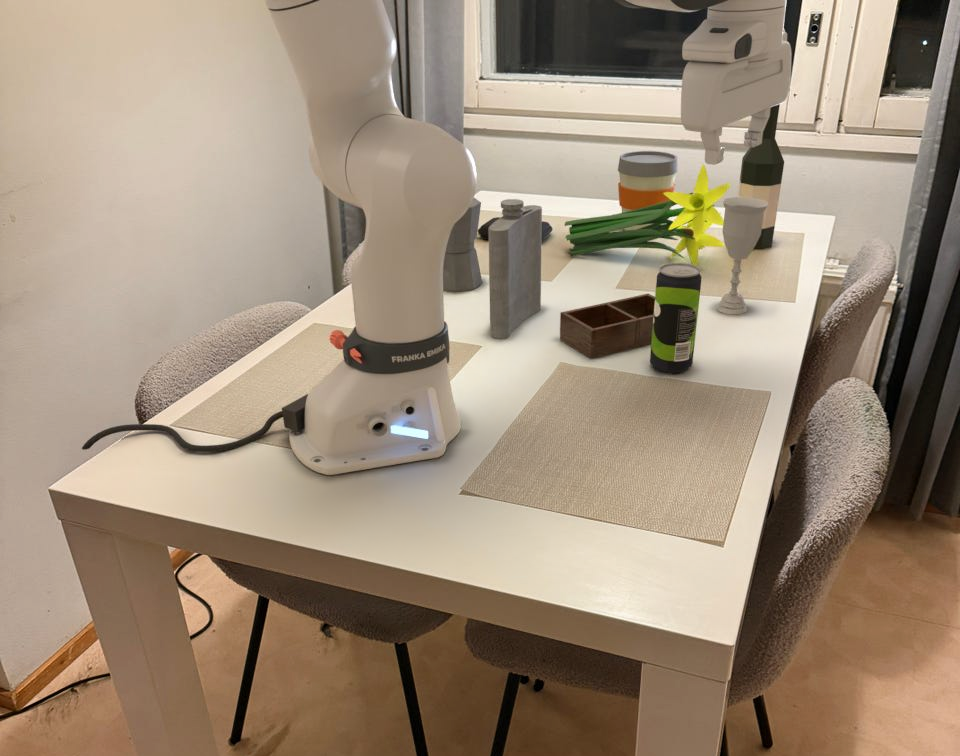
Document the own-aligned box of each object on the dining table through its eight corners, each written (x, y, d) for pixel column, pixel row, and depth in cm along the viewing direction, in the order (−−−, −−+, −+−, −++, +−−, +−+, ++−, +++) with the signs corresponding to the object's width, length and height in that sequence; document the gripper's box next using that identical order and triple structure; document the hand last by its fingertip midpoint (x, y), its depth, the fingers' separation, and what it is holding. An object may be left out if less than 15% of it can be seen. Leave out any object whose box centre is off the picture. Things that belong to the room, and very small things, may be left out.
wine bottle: (777, 241, 187) (801, 85, 171) (765, 251, 181) (788, 90, 165) (738, 235, 191) (758, 82, 175) (725, 245, 185) (744, 88, 169)
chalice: (760, 308, 154) (776, 201, 145) (740, 319, 150) (755, 210, 140) (722, 298, 158) (735, 194, 149) (702, 309, 154) (714, 203, 145)
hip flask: (504, 340, 144) (503, 214, 134) (482, 336, 146) (479, 212, 135) (543, 307, 156) (545, 190, 146) (522, 304, 158) (522, 188, 148)
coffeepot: (480, 296, 162) (478, 194, 153) (428, 296, 163) (423, 194, 153) (485, 269, 175) (483, 173, 166) (437, 268, 176) (433, 174, 167)
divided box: (590, 359, 137) (591, 330, 135) (559, 339, 144) (560, 312, 142) (679, 337, 144) (682, 309, 141) (646, 319, 151) (648, 293, 148)
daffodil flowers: (593, 241, 192) (757, 214, 173) (577, 294, 186) (746, 273, 167) (561, 182, 180) (734, 147, 161) (543, 237, 174) (720, 207, 155)
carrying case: (556, 233, 195) (494, 227, 200) (556, 219, 194) (493, 213, 199) (539, 246, 187) (475, 240, 192) (540, 232, 185) (474, 225, 190)
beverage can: (695, 361, 136) (705, 264, 128) (687, 378, 131) (698, 278, 123) (654, 356, 137) (662, 260, 130) (645, 372, 133) (653, 273, 125)
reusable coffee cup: (614, 219, 203) (618, 150, 195) (671, 220, 202) (677, 150, 194) (614, 235, 193) (618, 163, 185) (673, 236, 191) (680, 163, 183)
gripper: (763, 20, 114) (752, 134, 122) (673, 46, 102) (667, 170, 110) (810, 22, 110) (796, 139, 118) (722, 48, 99) (713, 177, 106)
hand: (733, 154), depth 114 cm, fingers open, 8 cm apart
